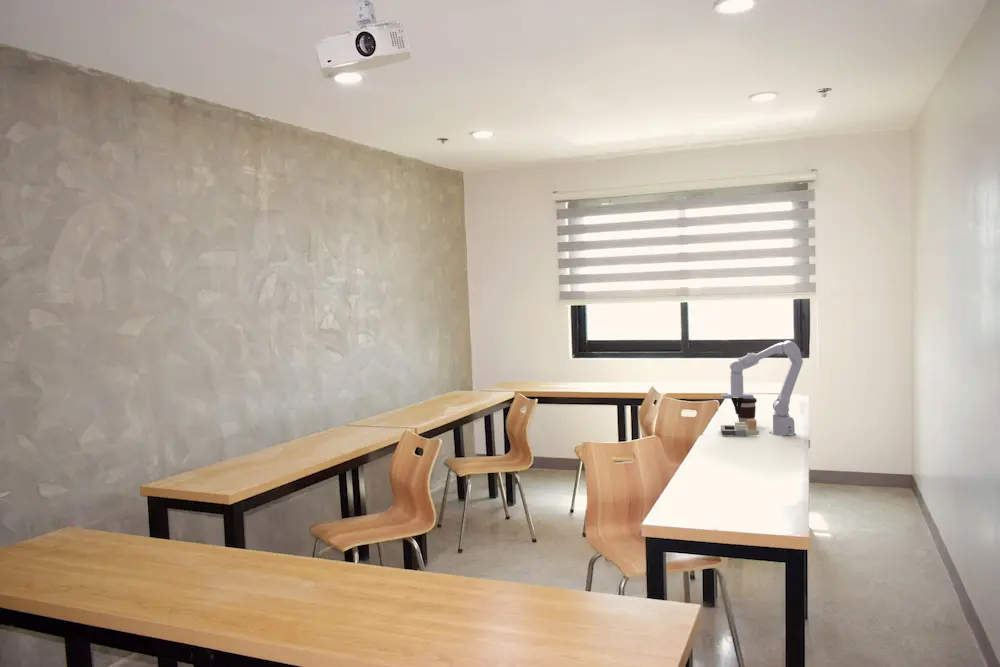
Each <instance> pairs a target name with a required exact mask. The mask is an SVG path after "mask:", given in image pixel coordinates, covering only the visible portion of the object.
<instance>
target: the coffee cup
mask: <svg viewBox="0 0 1000 667" xmlns="http://www.w3.org/2000/svg"><path fill="white" fill-rule="evenodd" d="M757 401H758V400H757V398H755V397H754V396H753V399H743V403H742V405H741V407H740V411H739V414H737V417H738V418H737V419H738V422H746V425H747V419H756V409H757V408H756V403H757ZM737 407H738V405H737Z"/></svg>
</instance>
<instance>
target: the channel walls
mask: <svg viewBox="0 0 1000 667" xmlns="http://www.w3.org/2000/svg"><path fill="white" fill-rule="evenodd" d="M734 425H735V427H736V430H747V425H746V422H739V421H735V422H734Z"/></svg>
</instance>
